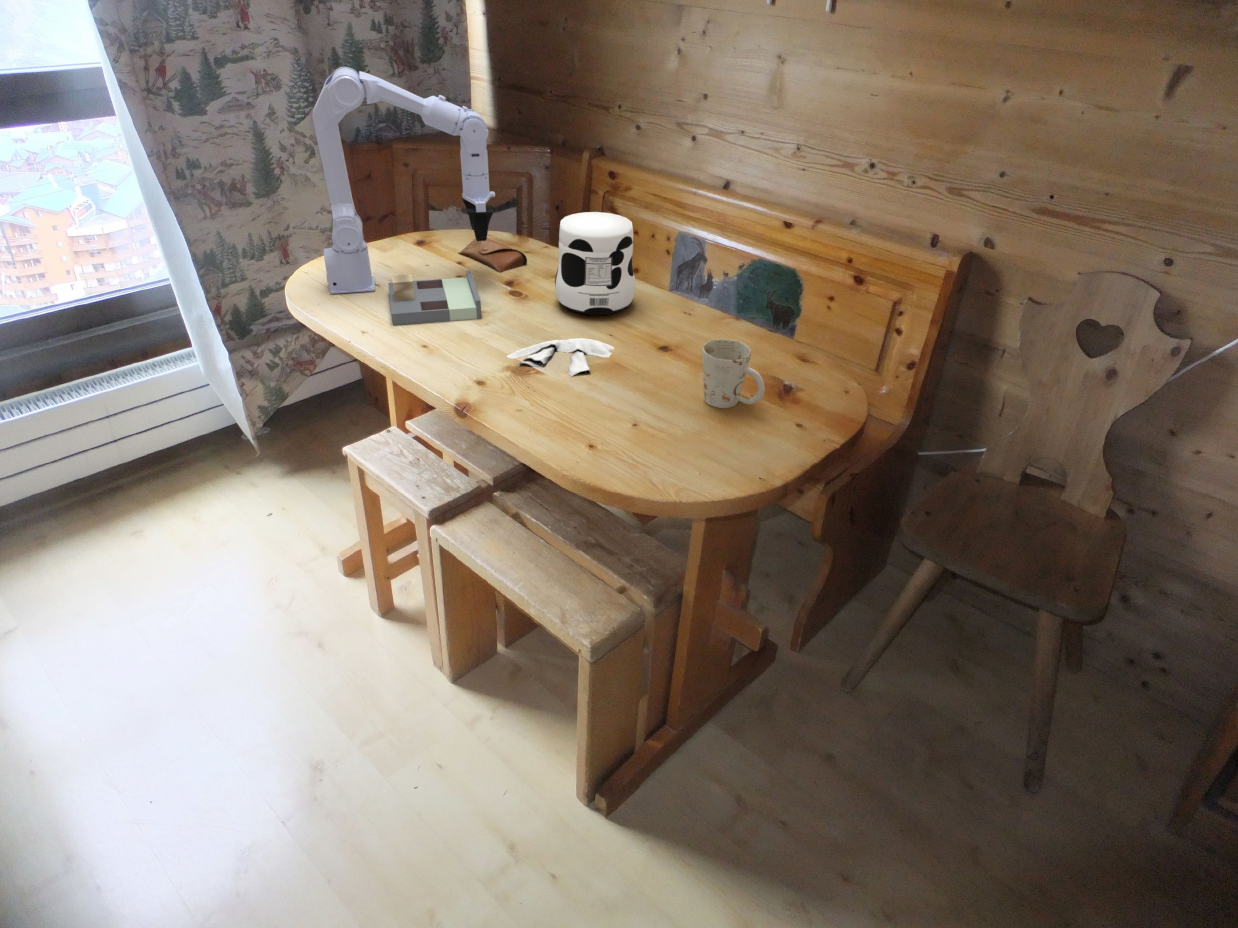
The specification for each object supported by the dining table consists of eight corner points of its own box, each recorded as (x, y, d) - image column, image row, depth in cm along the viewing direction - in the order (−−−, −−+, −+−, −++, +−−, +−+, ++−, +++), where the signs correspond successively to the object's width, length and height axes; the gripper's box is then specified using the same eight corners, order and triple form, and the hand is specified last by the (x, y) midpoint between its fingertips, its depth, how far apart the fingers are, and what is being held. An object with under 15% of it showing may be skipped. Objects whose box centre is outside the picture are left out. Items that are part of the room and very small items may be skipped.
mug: (714, 384, 148) (720, 334, 143) (773, 407, 142) (782, 356, 136) (688, 400, 143) (693, 349, 137) (748, 425, 136) (756, 373, 131)
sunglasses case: (454, 253, 199) (463, 227, 198) (474, 261, 205) (483, 236, 204) (500, 273, 190) (511, 246, 188) (521, 281, 195) (531, 255, 194)
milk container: (596, 283, 186) (597, 205, 176) (650, 306, 177) (655, 225, 166) (538, 303, 176) (537, 221, 166) (593, 328, 166) (594, 243, 156)
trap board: (393, 325, 164) (390, 307, 162) (389, 293, 177) (387, 276, 175) (481, 318, 168) (480, 300, 166) (471, 287, 182) (470, 270, 180)
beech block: (395, 301, 168) (392, 282, 166) (394, 293, 171) (391, 275, 169) (414, 299, 169) (412, 281, 167) (413, 292, 172) (411, 274, 170)
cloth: (625, 346, 161) (626, 335, 160) (593, 397, 144) (593, 386, 142) (529, 332, 165) (529, 321, 164) (487, 379, 148) (486, 368, 147)
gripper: (498, 181, 169) (501, 244, 176) (489, 163, 180) (492, 223, 188) (464, 182, 167) (469, 246, 175) (457, 164, 178) (461, 225, 186)
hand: (479, 235), depth 181 cm, fingers open, 7 cm apart
